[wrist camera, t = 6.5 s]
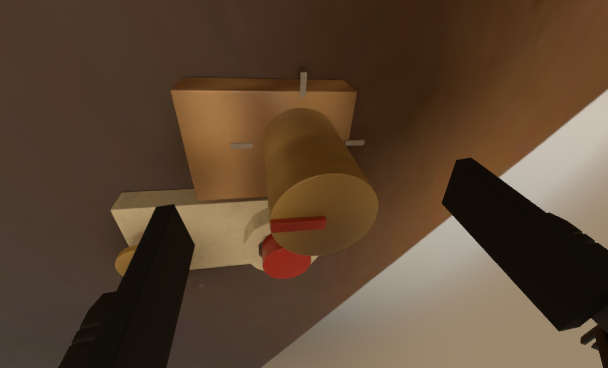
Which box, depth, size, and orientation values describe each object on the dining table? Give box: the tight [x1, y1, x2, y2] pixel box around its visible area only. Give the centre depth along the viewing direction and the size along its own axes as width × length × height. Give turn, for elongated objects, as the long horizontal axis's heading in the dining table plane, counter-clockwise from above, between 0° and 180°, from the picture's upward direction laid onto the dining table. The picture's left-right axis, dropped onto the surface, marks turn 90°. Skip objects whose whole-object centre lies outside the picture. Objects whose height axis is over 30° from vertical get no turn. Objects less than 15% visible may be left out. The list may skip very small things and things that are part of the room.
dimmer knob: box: [263, 108, 379, 256], centre depth 14 cm, size 5×5×8 cm
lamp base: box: [110, 189, 318, 270], centre depth 23 cm, size 16×8×4 cm, turn 87°
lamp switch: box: [262, 234, 311, 279], centre depth 21 cm, size 4×4×2 cm
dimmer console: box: [171, 72, 364, 201], centre depth 18 cm, size 12×9×3 cm
